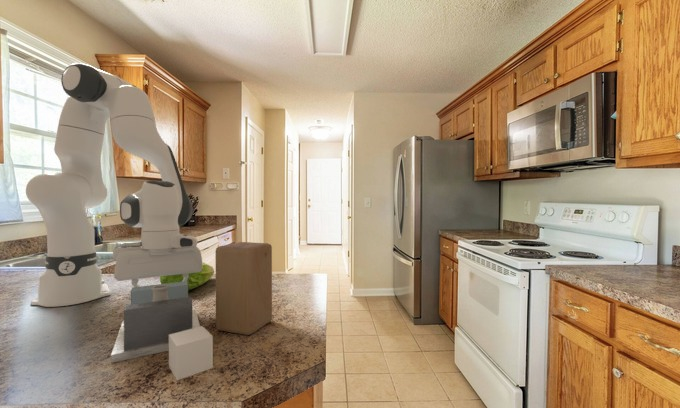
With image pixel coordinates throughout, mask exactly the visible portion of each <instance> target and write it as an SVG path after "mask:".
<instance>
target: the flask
mask: <svg viewBox="0 0 680 408" xmlns="http://www.w3.org/2000/svg"><path fill="white" fill-rule="evenodd" d="M156 285H157V286H153V287H152V288H151V289H152V290H153V300H152V302H156V301H163V300H169V299H168V295H167V289H168V288H169V285H158V284H156Z"/></svg>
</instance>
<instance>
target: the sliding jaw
mask: <svg viewBox="0 0 680 408" xmlns="http://www.w3.org/2000/svg"><path fill="white" fill-rule="evenodd" d="M157 285H169V288H168V289H167V295H168V299H169V300H170V299H177V298H184V297H189V290H188V283H187V281H184V282H175V283H167V284H161V283H159V284H152V285H142V286H139V287H134V286H132V288H131V290H130V305H134V304H141V303H148V302H152V300H153V290H152V289H151V288H152V287H153V286H157Z"/></svg>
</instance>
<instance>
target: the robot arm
mask: <svg viewBox="0 0 680 408" xmlns="http://www.w3.org/2000/svg"><path fill="white" fill-rule="evenodd" d="M60 81H61V87H62V89H63V91H64V93H65V94H66V95H68V97H67V98H66V100H65V102H64V104H63V106H62V110H61V112H60V116H59V119H58V124H57V131H56V136H55V141H54V142H55V143H54V148H53V150H54V151H53V152H54V154H55V155H56V156H57V158H58V160H59V163H60V167H61V172H58V171H57V172H56V171H55V172H53V171H52V172H47V173H42V174H38V175H35V176H33V177H32V178H30V180H29V181H27V184H26V187H25V195H26V198H27V199H28V200H29V202H30V203H31V204H32V205H33V206H35V207H36V208H37V209H38V211H39V213H40V215H41V218H42V219H43V220H42V221H43V223H44V226H45V230H46V242H47V244H46V247H47V250H46V251H47V255H46V256H45V261H44V265H45V266H44V267H45V269H46V270H45V271H44V272H43V273H41V274H40V275H39V277H38V287H37V289H38V290H37V298H35V299H33V300H31V301H30V305H31V306H41V307H46V308H50V307H54V308H55V307H56V308H57V307H64V306H70V305H71V306H72V305H78V304H82V303H86V302H90V301H94V300H96V299H100V298H103V297H104V298H105V297H107V296H110V295H111V291H110V289H109V286H108V284H107V283H105V280H104V279H102V275H103V274H102V269H100V267H99V266H98V265H97V263H98V255H97V252H96V249H95V247H96V246H95V243H96V240H95V234H96V233H95V227H94V226H93V224H92V223H90V221H89V218H88V216H87V213H86V210H87V209H92V208H94V207H97V206H99V205H102V204H103V203H104V202H105V201H106V199H107V197H108V188H107V187H106V184H105V183H104V178H103V173H102V164H101V163H102V162H101V161H102V160H101V159H102V158H101V157H102V150H103V145H104V137H105V133H106V132H105V131H106V123H107V121H108V119H110V120H109V121H110V129H111V130H110V131H111V135H112V139H113V140H114V143H116V145H117V146H118V147H119V148H121V149H122V150H123V151H125V152H127V153H128V154H130V155H132V156H135V157H138V158H140V159H142V160H144V161H147V162H148V163H150V164H151V165H153V166H154V167H155V168H156V169H157V170H158V172H159V175H160V178H161V180H158V179H157V180H156V179H155V180H154V179H151V180H146V181H144V182H143V183H142V186H141V188H140V189H139V190H138V191H136V192H134V193H132V194H130V193H129V194H128V195H127V196H125V197H124V198H123V199H122V200H121V202H120V205H119V206H120V207H119V217H120V220H121V221H122V222H123V223H124V224H126V226H128V227H131V228H141V230H140V231H141V233H140V234H141V238H140V239H141V241H139V242H128V243H127V242H122V243H120V244H118V245H116V246H115V247H114V248H113V251H112V258H113V260H115V265H114V272H113V273H114V280H116V281H118V282H119V281H130V280H131V285H132V287H140V285H139V284H138V283H139V280H140V279H148V278H156V277H157V278H160V276H168V275H177V274H183V278H184V279H183V281H182V282H184V281H187V279H188V278H189V273H196V272H200V271H201V270H202V269H203V263H204V262H203V257H202V253H201V250H200V248H199V247H198V246H197V245H198V239H197V237H195V236H192V235H187V234H183V233H180V227H182V226H184V225H185V224H186V223H187V222H188V221H189V220H191V218H192V216H193V212H194V209H193V204H192V201H191V200H190V197H189V195H188V193H187V191H186V188H185V186H184V185H185V184H184V183H183V179H182V176H181V173H180V170H179V167H178V164H177V161H176V158H175V155H174V152H173V150H172V148H171V146H170V145H168V144H167V143H166V142H165V141H164V140H163V138H162V137H161V135H160V133H159V131H158V129H157V124H156V118H155V117H156V116H155V113H154V109H153V106H152V103H151V100H150V98H149V95H148V94H147V93H146V92H145V91H144V90H143V89H141V88H139V87H137V86H136V85H134V84H131V83H129V81H127V80H125V79H122V78H121V77H119V76H117V75H115V74H111V73H108V72H106V71H103V70H101V69H97V68H96V67H94V66H92V65H89V64H85V63H81V62H73V63H72V64H70V65H68V66H67V67H66V68H65V69H64V70H63V72H62V74H61V80H60ZM202 262H203V263H202Z"/></svg>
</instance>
